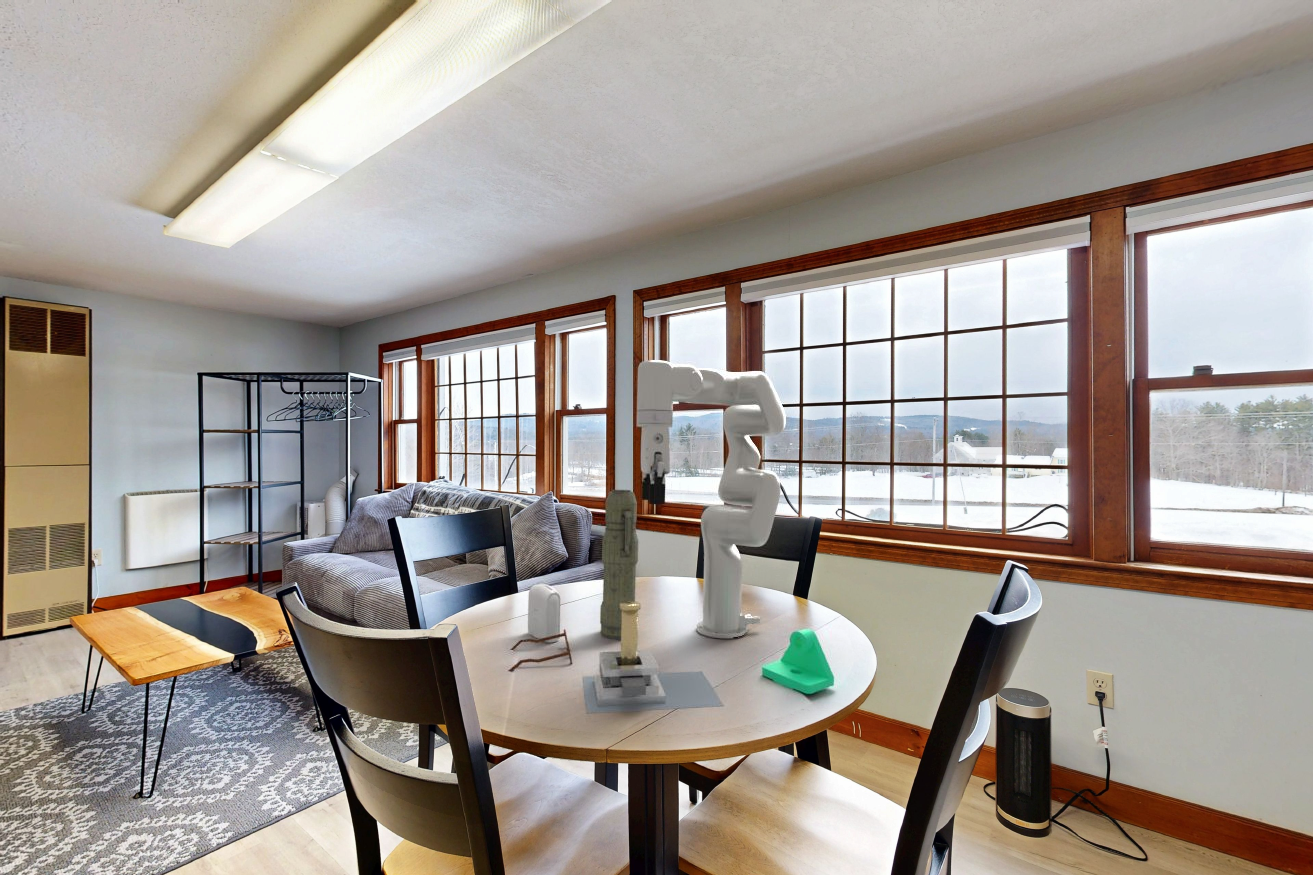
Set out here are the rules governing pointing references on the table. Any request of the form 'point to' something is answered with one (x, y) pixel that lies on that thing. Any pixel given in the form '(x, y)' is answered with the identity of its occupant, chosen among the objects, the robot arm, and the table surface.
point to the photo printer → (544, 612)
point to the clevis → (628, 680)
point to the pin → (629, 632)
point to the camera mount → (801, 665)
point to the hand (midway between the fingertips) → (652, 501)
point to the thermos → (618, 560)
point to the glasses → (545, 657)
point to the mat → (678, 691)
